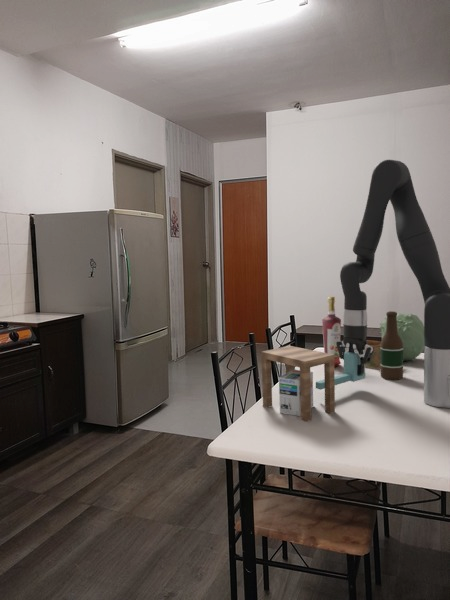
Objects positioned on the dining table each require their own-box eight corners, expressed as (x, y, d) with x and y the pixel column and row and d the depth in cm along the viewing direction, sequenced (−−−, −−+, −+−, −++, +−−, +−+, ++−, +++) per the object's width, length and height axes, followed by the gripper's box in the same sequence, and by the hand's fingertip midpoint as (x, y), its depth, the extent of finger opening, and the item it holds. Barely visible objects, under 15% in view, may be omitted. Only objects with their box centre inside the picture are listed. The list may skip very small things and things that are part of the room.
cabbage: (423, 366, 183) (424, 316, 181) (374, 361, 194) (374, 313, 191) (431, 358, 196) (431, 311, 194) (384, 354, 207) (384, 309, 204)
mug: (353, 359, 199) (353, 331, 198) (395, 364, 189) (395, 334, 188) (342, 365, 190) (342, 336, 189) (386, 370, 180) (386, 339, 178)
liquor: (330, 369, 185) (329, 298, 182) (319, 365, 191) (318, 297, 188) (345, 366, 188) (344, 297, 185) (333, 362, 194) (333, 295, 191)
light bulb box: (300, 416, 133) (299, 380, 132) (278, 413, 137) (277, 377, 136) (314, 405, 142) (313, 371, 141) (293, 402, 146) (292, 368, 145)
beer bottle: (379, 379, 168) (379, 313, 165) (381, 374, 175) (381, 310, 172) (402, 381, 165) (403, 313, 162) (403, 375, 172) (403, 310, 169)
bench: (334, 411, 136) (334, 354, 135) (306, 421, 129) (305, 361, 128) (291, 397, 151) (289, 345, 149) (262, 406, 144) (261, 351, 142)
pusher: (354, 376, 159) (355, 350, 158) (364, 378, 156) (365, 352, 155) (313, 388, 146) (313, 359, 145) (323, 391, 143) (323, 362, 142)
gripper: (330, 321, 157) (330, 371, 159) (366, 326, 146) (365, 380, 148) (344, 319, 162) (344, 367, 163) (380, 324, 150) (379, 376, 152)
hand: (354, 373), depth 156 cm, fingers closed on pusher, 4 cm apart
